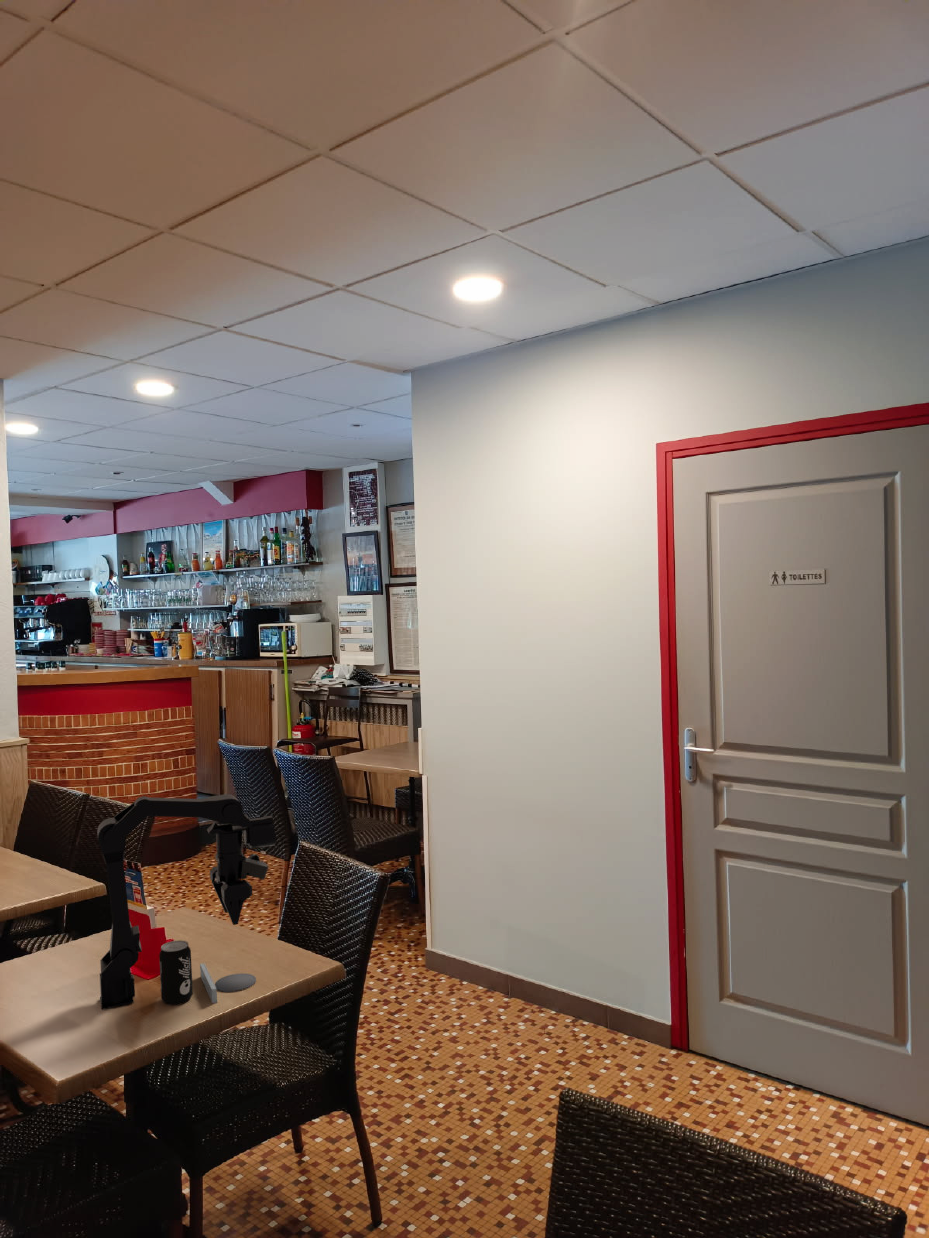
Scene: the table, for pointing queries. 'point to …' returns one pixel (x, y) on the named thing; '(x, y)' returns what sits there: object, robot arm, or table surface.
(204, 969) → the low wall
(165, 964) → the beverage can
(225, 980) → the coaster mat
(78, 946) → the table surface
